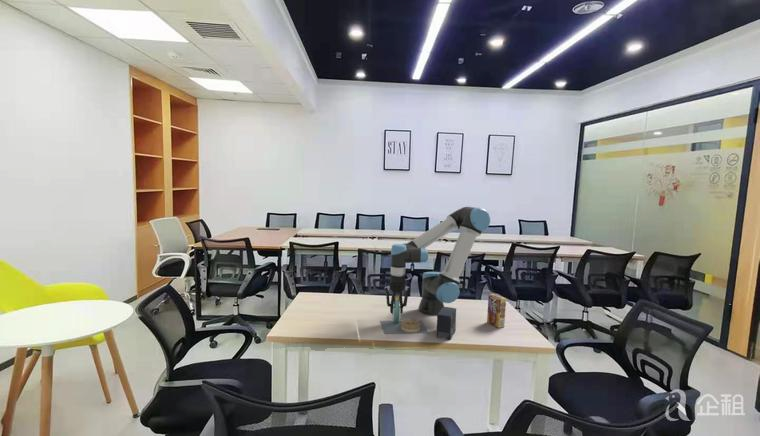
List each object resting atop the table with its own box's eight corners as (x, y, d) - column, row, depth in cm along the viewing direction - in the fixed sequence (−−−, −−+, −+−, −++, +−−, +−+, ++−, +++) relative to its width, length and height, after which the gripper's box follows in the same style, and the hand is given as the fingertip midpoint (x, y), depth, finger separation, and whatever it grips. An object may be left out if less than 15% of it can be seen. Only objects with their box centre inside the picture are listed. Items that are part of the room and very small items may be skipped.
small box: (442, 329, 177) (443, 305, 176) (455, 331, 174) (456, 308, 173) (435, 338, 165) (437, 313, 164) (450, 341, 162) (451, 316, 161)
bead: (417, 325, 179) (417, 319, 179) (421, 332, 170) (422, 326, 170) (399, 325, 178) (400, 319, 178) (403, 332, 169) (403, 326, 169)
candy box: (505, 327, 182) (506, 298, 181) (498, 328, 180) (500, 299, 179) (492, 321, 190) (494, 293, 189) (486, 322, 188) (488, 294, 187)
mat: (420, 321, 186) (420, 320, 186) (429, 334, 169) (429, 333, 169) (379, 322, 183) (379, 320, 183) (384, 335, 167) (384, 334, 166)
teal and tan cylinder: (398, 321, 183) (399, 295, 182) (399, 323, 180) (400, 297, 179) (392, 321, 183) (393, 295, 182) (393, 323, 180) (394, 297, 179)
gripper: (411, 272, 184) (409, 316, 186) (381, 272, 182) (380, 316, 184) (414, 276, 177) (412, 321, 179) (383, 276, 175) (382, 322, 176)
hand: (396, 319), depth 181 cm, fingers closed on teal and tan cylinder, 3 cm apart
